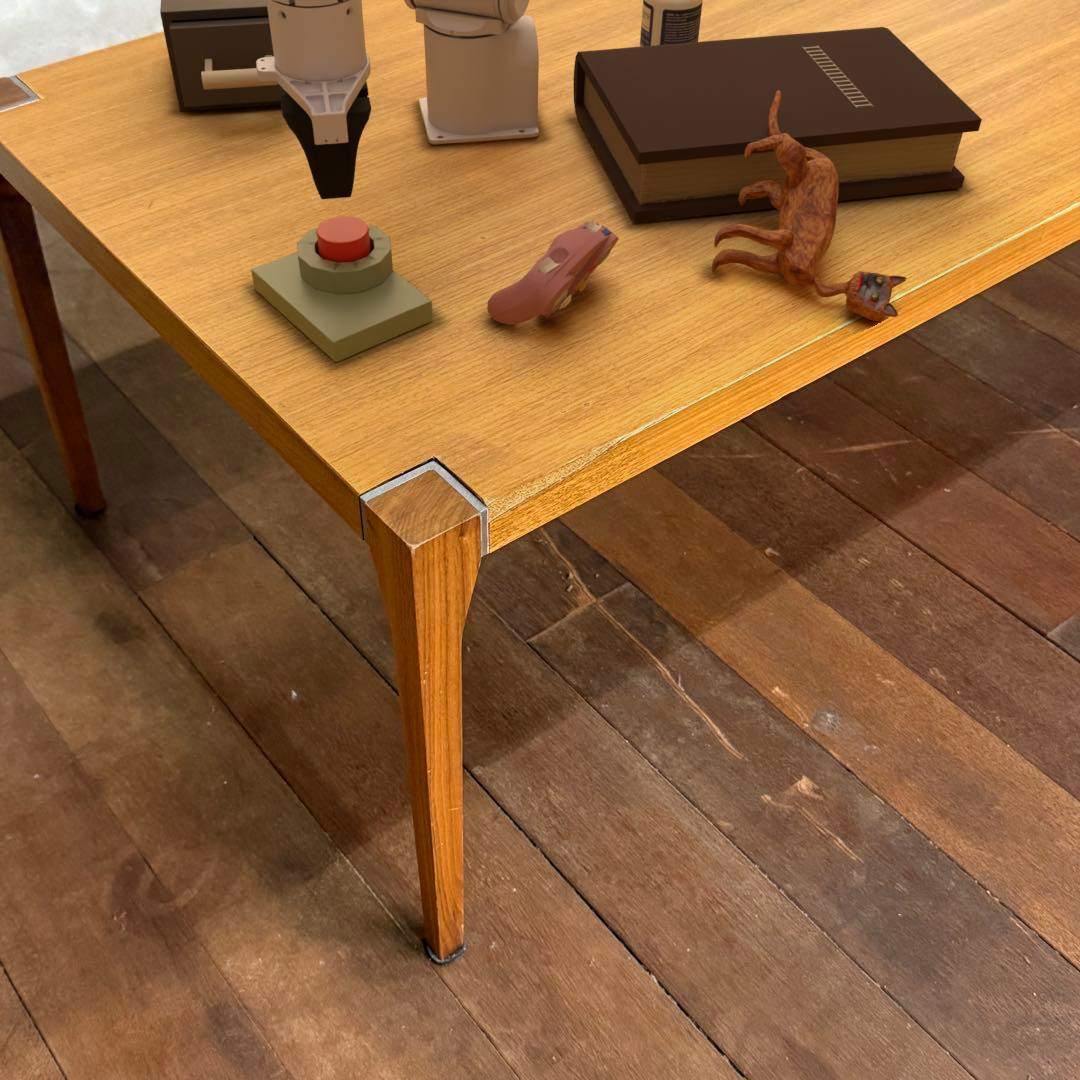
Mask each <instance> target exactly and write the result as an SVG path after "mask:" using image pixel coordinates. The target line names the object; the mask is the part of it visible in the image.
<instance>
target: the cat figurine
mask: <svg viewBox="0 0 1080 1080" xmlns="http://www.w3.org/2000/svg"><path fill="white" fill-rule="evenodd" d="M781 95H782V94H781V91H777V92H776V94H775V97H774V100H773V103H772V105H771V108H770V111H769V115H768V120H767V130H768V135H769V137H768V138H765V139H762V140H760V141H757V142H752V143H750V144H748V145H747V147H746V149H745V153H744V157H745V158H748V157H750V155H751V153H752V152H753V151H763V150H768V149H773V150H775V153H776V155H777V158H778V161H779V163H780V164H781V165H782V167H783V168H784V169H785V171H786V173H787V175H786V177H785V179H784V182H783V184H782V187H781V186H780V184H779V183H778V182H777V181H774V180H765V181H759V182H756V183H754V184H752V185H750V186H747V187H744V188H742V189H741V191H740V194H739V203H740V204H741V205H743V204H744V202H745V201H746V199H756V198H761V197H765V196H768V197H769V199H770V201H771V203H772V205H773V206H774V207H775V208H774V209H776V210H777V211H779V219H778V220H779V221H778V229H775V230H766V229H762V228H759V227H756V226H752V225H748V224H742V223H729V224H725V225H723V226H722V227H721V228H720V229H719V230H718V231H717V233H716V234H715V237H714V248H717V247H718V245H719V244H720V242H722V241H723V240H726V239H732V238H744V239H748V240H750V241H753V242H755V243H758V244H760V245H764V246H768V247H772V248H775V249H777V250H776V251H777V253H774V254H770V255H767V254H766V255H761V254H758V253H755V252H751V251H747V250H743V249H737V248H724V249H723V250H720V251H719V252H718V253H717V254H716V255H715V256H714V258H713V259H712V265H711V273H712V274H715V272H716V270H717V269H718V268H719V267H720V266H726V265H732V264H738V265H739V264H740V265H742V266H743V265H744V266H746V267H748V268H750V269H752V270H755V271H758V272H762V273H765V274H772V275H781V274H782V275H783V277H784V278H785V280H786V281H787V282H788V283H789V284H790V285H792V286H793V287H797V288H804V287H809V286H810V287H813V288H814V289H815V291H816V293H817V295H818V296H819V297H820V298H825V299H826V298H831V297H834V296H837V295H841V294H844V295H845V296H846V297H845V306H846V309H847V310H848V311H849V312H850V313H853V314H856V315H859V316H861V317H863V318H865V319H868V320H870V321H873V322H879V320H881V318H883V317H884V316H888V317H891V318H897V317H898V316H899V313H898V311H897V309H896V308H895V307H894V306H893V304H892V303H891V298H892V292H893V289H895V288H896V287H897V286H899V285H901V284H903V283H905V282H906V281H907V277H905V276H903V275H888V274H887V275H886V274H882V273H879V272H870V271H863V270H859V271H857V272H856V273H854V275H853V276H852V277H850V280H848V281H846V282H836V283H830V284H823V282H822V279H821V278H820V274H819V269H818V263H820V261H821V259H823V257H824V256H825V255H826V254H827V252H828V250H829V248H830V246H831V244H832V240H833V237H834V233H835V230H836V221H837V212H838V202H839V201H838V192H839V181H838V175H837V172H836V169H835V167H834V165H833V163H832V161H831V160H830V159H829V158H827V157H826V156H825V155H823V154H822V153H820V152H818V151H816V150H814V149H810V148H807V147H804V146H803V145H801V144H800V143H799V142H797V141H796V140H794V139H793V138H792V137H791V136H790V135H789V134H787V133H781V132H780V130H779V127H778V120H777V115H778V110H779V107H780V102H781Z"/></svg>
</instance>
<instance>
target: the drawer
mask: <svg viewBox="0 0 1080 1080" xmlns="http://www.w3.org/2000/svg"><path fill="white" fill-rule="evenodd" d="M169 30H170V35H171V40H172V45H173V50H174V55H175V60H176V65H177V70H178V75H179V80H180V85H181V90H182V95H183V101H184V106H185V107H194V106H210V105H225V104H240V103H255V102H270V101H281V99H280V98H281V96H280V87H281V86H280V85H279V84H278V83H277V82H275V81H260V80H259V79H258V75H257V67H256V61H257V60H258V59H260V58H264V57H273V56H274V52H273V45H272V38H271V30H270V23H269V16H252V17H234V18H216V19H198V20H180V23H170V27H169Z"/></svg>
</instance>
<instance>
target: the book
mask: <svg viewBox="0 0 1080 1080" xmlns="http://www.w3.org/2000/svg"><path fill="white" fill-rule="evenodd" d="M573 67H574V69H573V105H574V112H575V116H576V118H577V121H578V123H579V125H580V126H581V129H582V131H583V132H584V134H585V136H586V138H587V140H588V141H589V144H590V145H591V147H592V148H593V149H592V150H594V152H595V154H596V156H597V158H598V160H599V162H600V163H601V165H602V167H603V170H604V171H605V173H606V175H607V176H608V178H609V180H610V182H611V184H612V185H613V187H614V189H615V191H616V193H617V195H618V197H619V198H620V200H621V202H622V204H623V206H624V207H625V210H626V211H627V213H628V216H629V217H630V219H631V221H632V222H633V224H638V223H648V222H657V221H665V220H666V221H667V220H675V219H676V220H677V219H685V218H686V219H687V218H694V217H695V218H696V217H702V216H713V215H720V214H721V215H722V214H733V213H740V212H750V211H759V210H760V211H761V210H770V209H776V208H775V207H774V206H773V205H772V203H771V201H770V199H769V197H768V196H765V197H761V198H756V199H746V201H745V202H744V204H743V205H741V204H740V203H739V194H740V191H741V189H742V188H744V187H747V186H750V185H752V184H754V183H756V182H759V181H765V180H774V181H777V182H778V183H779V184H780V186H781V187H782V184H783V182H784V179H785V177H786V175H787V173H786V171H785V169H784V168H783V167H782V165H781V164H780V163H779V161H778V158H777V155H776V153H775V150H773V149H768V150H763V151H753V152H752V153H751V155H750V157H748V158H745V157H744V153H745V149H746V147H747V145H748V144H750V143H752V142H757V141H760V140H762V139H765V138H768V137H769V135H768V130H767V120H768V115H769V111H770V108H771V105H772V103H773V100H774V97H775V94H776V92H777V91H781V94H782V95H781V102H780V107H779V110H778V115H777V120H778V127H779V130H780V132H781V133H787V134H789V135H790V136H791V137H792V138H793V139H794V140H796V141H797V142H799V143H800V144H801V145H803V146H804V147H807V148H810V149H814V150H816V151H818V152H820V153H822V154H823V155H825V156H826V157H827V158H829V159H830V160H831V161H832V163H833V165H834V167H835V169H836V172H837V175H838V181H839V192H838V201H837V202H843V201H851V200H862V199H869V198H870V199H871V198H880V197H888V196H899V195H908V194H917V193H918V194H919V193H926V192H934V191H935V192H936V191H944V190H953V189H963V185H964V181H965V179H966V176H965V175H964V174H963V172H961V171H960V170H959V169H958V168H957V166H955V161H956V159H957V155H958V152H959V148H960V145H961V141H962V138H963V134H964V133H972V132H979V131H980V128H981V124H982V121H983V118H981V117H980V116H979V115H978V114H977V112H976V111H974V110H973V109H972V108H971V107H970V106H969V105H968V104H967V103H966V102H965V101H964V100H963V99H962V98H961V97H959V95H957V93H956V92H955V91H953V90H952V88H950V87H949V86H948V85H947V84H946V83H945V82H944V81H943V80H942V79H941V78H940V77H939V76H938V75H937V74H936V73H935V72H934V71H933V70H931V68H929V66H928V65H927V64H926V63H924V61H922V59H920V57H918V56H917V55H916V53H914V52H913V51H912V50H911V49H910V48H909V47H908V46H907V45H906V44H905V43H904V42H903V41H901V39H899V37H897V35H895V34H894V33H893V32H892V31H891V30H890V29H889V28H888V27H885V26H878V27H877V26H876V27H865V28H864V27H863V28H853V29H840V30H828V31H816V32H815V31H814V32H803V33H802V32H801V33H792V34H791V33H790V34H780V35H779V34H778V35H765V36H756V37H755V36H754V37H743V38H742V37H741V38H729V39H718V40H717V39H716V40H706V41H705V40H703V41H698V42H691V43H679V44H667V45H655V46H642V47H640V46H632V47H631V46H629V47H620V48H608V49H607V48H606V49H595V50H582V51H577V52H576V54H575V58H574V65H573Z"/></svg>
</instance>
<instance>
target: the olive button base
mask: <svg viewBox="0 0 1080 1080" xmlns="http://www.w3.org/2000/svg"><path fill="white" fill-rule="evenodd" d="M366 224H367V225H368V228H369V238H370V253H369V255H368V256H367V257H364V258H362V259H359V260H357V261H354V262H342V263H337V262H333V261H329V260H324V259H323V258H322V257H321V256H320V254H319V248H318V240H317V232H316V231H317V227H315V228H313V229H310V230H308V231H307V232H306V233H305V234H304V235H303V236H302V237H301V238H300V239H299V240H298V241H297V251H295V252H293V253H290V254H287V255H284V256H281V257H280V258H277V259H273V260H271V261H269V262H266V263H264V264H261V265H257V266H255V267H253V268H251V270H250V271H251V277H252V282H253V288H254V290H255V291H256V292H257V293H258V294H259V295H260V296H262V297H263V298H264V299H265V300H266V301H267V302H269V304H270V305H272V306H273V307H274V308H275V309H276V310H277V311H278V312H279V313H280V314H281V315H282V316H284V317H285V319H287V320H288V321H289V322H290V323H291V324H293V325H294V327H296V328H297V329H298V330H299V331H300V332H301V333H302V334H304V335H305V336H306V337H307V338H308V339H309V340H310V341H311V342H313V343H314V344H315V345H316V346H317V347H318V348H319V349H320V350H321V351H322V352H323V353H324V354H326V356H328V357H329V358H330V359H331V360H332V361H333V362H334V363H339V362H341V361H343V360H345V359H348V358H350V357H352V356H355V355H357V354H359V353H361V352H364V351H366V350H368V349H370V348H373V347H376V346H377V345H378V346H379V345H380V344H382V343H384V342H387V341H389V340H392V339H394V338H396V337H399V336H401V335H403V334H405V333H408V332H411V331H412V330H415V329H417V328H420V327H422V326H424V325H426V324H428V323H431V322H433V301H432V300H431V299H430V298H429V297H428V296H426V295H425V294H424V293H423V292H421V290H419V289H417V288H416V287H415V286H414V285H412V283H410V282H408V281H407V280H406V279H405V278H403V276H402V275H399V273H397V272H396V271H395V270H394V264H393V251H392V243H391V237H390V235H388V234H387V233H386V232H385V231H383V230H382V229H380V228H379V227H378V226H377V225H376V226H375V225H371V224H368V223H366Z"/></svg>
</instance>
